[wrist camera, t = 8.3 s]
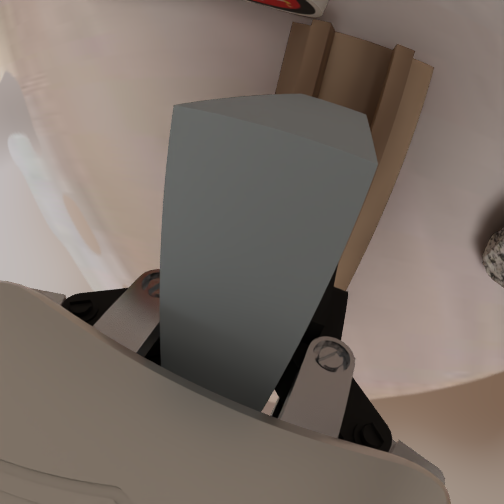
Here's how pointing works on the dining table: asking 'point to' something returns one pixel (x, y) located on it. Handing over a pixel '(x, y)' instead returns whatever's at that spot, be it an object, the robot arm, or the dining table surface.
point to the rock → (495, 257)
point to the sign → (296, 6)
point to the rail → (360, 108)
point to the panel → (254, 232)
